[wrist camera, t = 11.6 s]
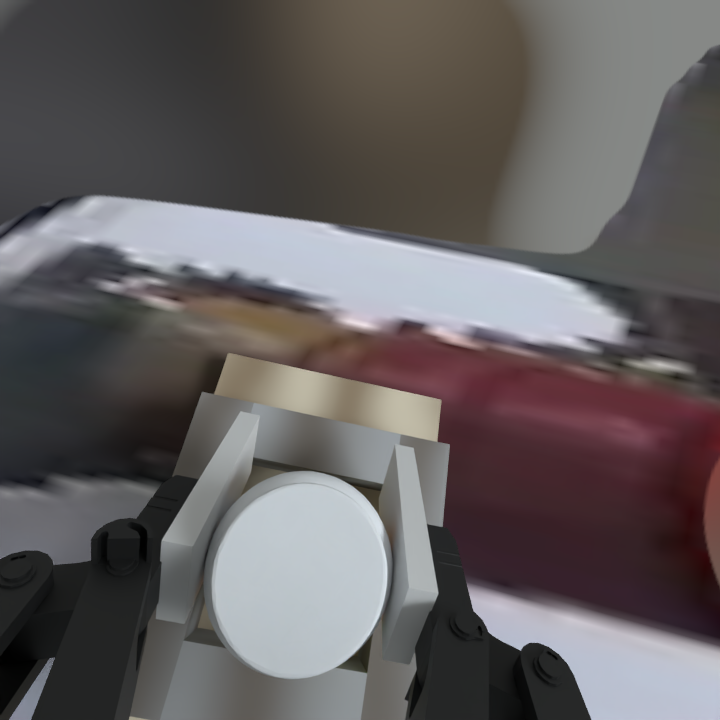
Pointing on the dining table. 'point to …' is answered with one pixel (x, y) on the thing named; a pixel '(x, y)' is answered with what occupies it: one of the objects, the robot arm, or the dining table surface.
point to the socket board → (271, 457)
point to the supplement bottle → (297, 575)
